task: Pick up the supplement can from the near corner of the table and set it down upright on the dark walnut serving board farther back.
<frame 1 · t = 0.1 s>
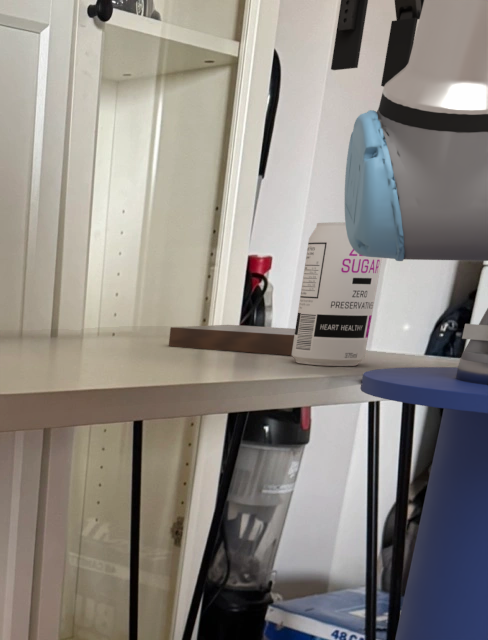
hand: (369, 77, 117), 30 cm above the table, tool pointing down, fingers open, 13 cm apart
supplement can: (325, 365, 122), on the table
walnut board: (260, 348, 143), on the table
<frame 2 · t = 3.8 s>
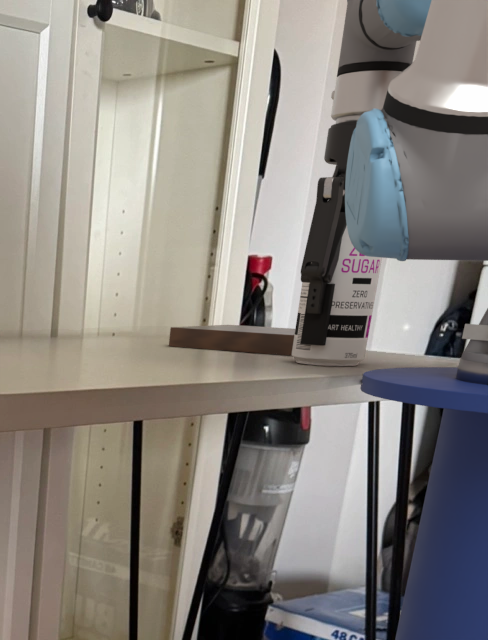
hand: (329, 343, 121), 2 cm above the table, tool pointing down, fingers closed on supplement can, 8 cm apart
supplement can: (325, 365, 122), on the table, touching gripper
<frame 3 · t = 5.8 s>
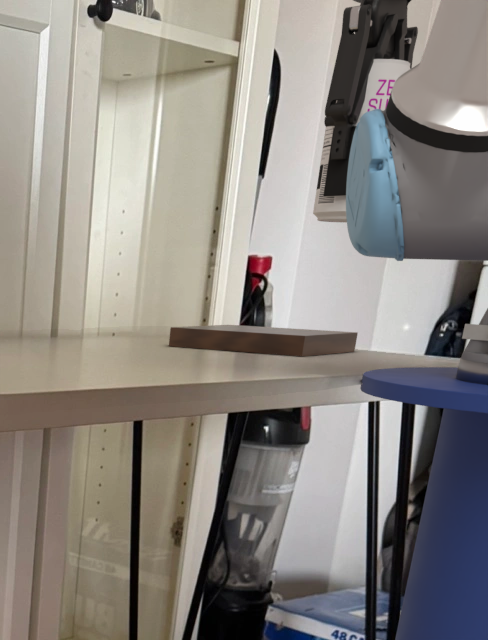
hand: (353, 198, 115), 18 cm above the table, tool pointing down, fingers closed on supplement can, 8 cm apart
supplement can: (349, 222, 116), point 15 cm above the table, touching gripper
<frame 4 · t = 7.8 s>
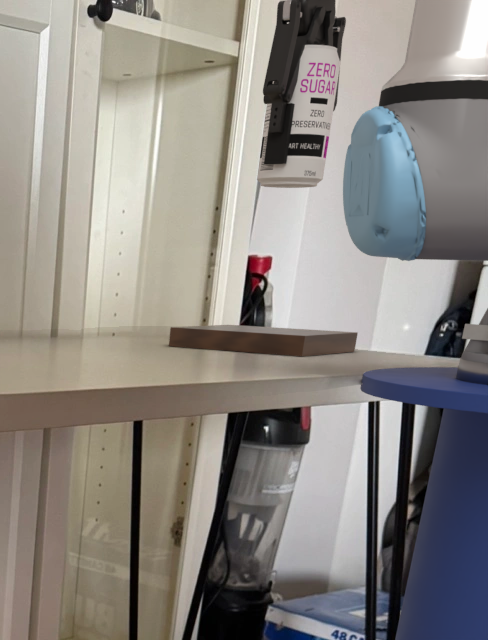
hand: (291, 166, 133), 22 cm above the table, tool pointing down, fingers closed on supplement can, 8 cm apart
supplement can: (288, 187, 134), point 20 cm above the table, touching gripper
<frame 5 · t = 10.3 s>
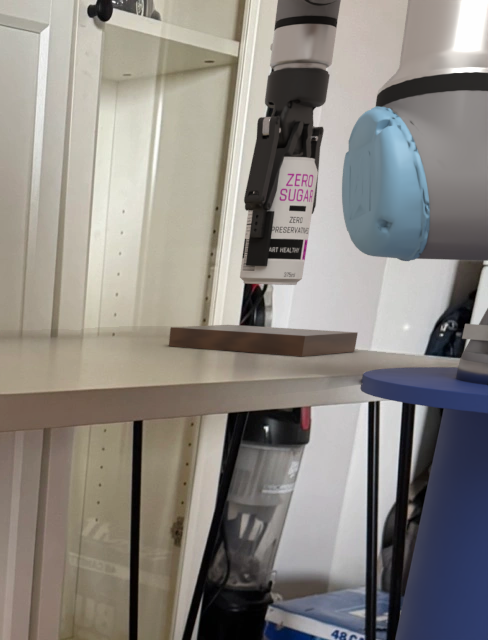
hand: (272, 266, 139), 11 cm above the table, tool pointing down, fingers closed on supplement can, 8 cm apart
supplement can: (269, 285, 140), point 8 cm above the table, touching gripper
when the fingers open (5 cm above the table, at t = 12.2 s): supplement can stays where it is, resting on walnut board.
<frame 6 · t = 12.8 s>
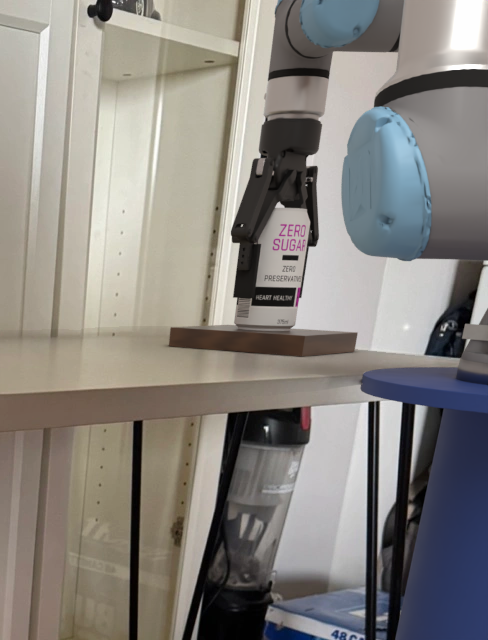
hand: (268, 298, 141), 7 cm above the table, tool pointing down, fingers open, 13 cm apart
supplement can: (263, 331, 142), point 2 cm above the table, touching walnut board
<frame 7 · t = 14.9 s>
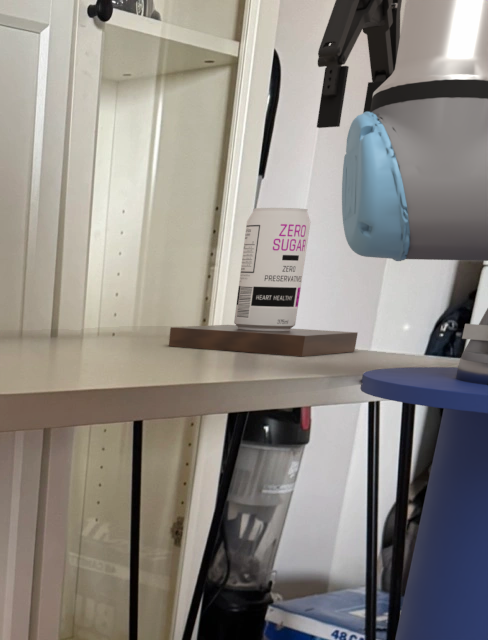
hand: (349, 132, 135), 27 cm above the table, tool pointing down, fingers open, 13 cm apart
nothing on the table moved.
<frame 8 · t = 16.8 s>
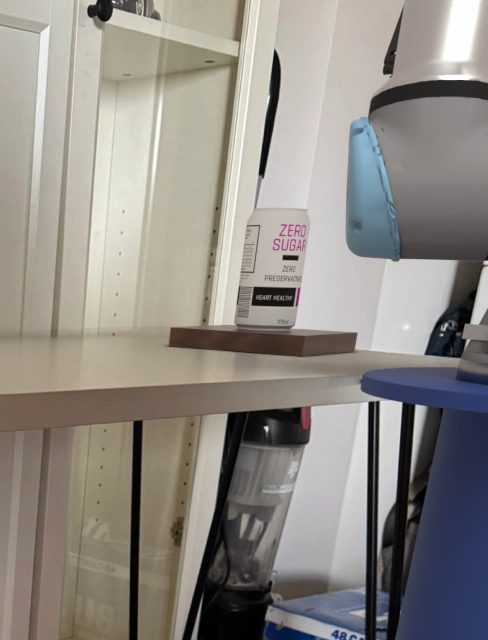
hand: (411, 138, 138), 27 cm above the table, tool pointing down, fingers open, 13 cm apart
nothing on the table moved.
at the end: supplement can inside the target area on the walnut board (0.0 cm from its centre), point 2.3 cm above the walnut board's base; supplement can tilted 0°; the gripper is holding nothing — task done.
